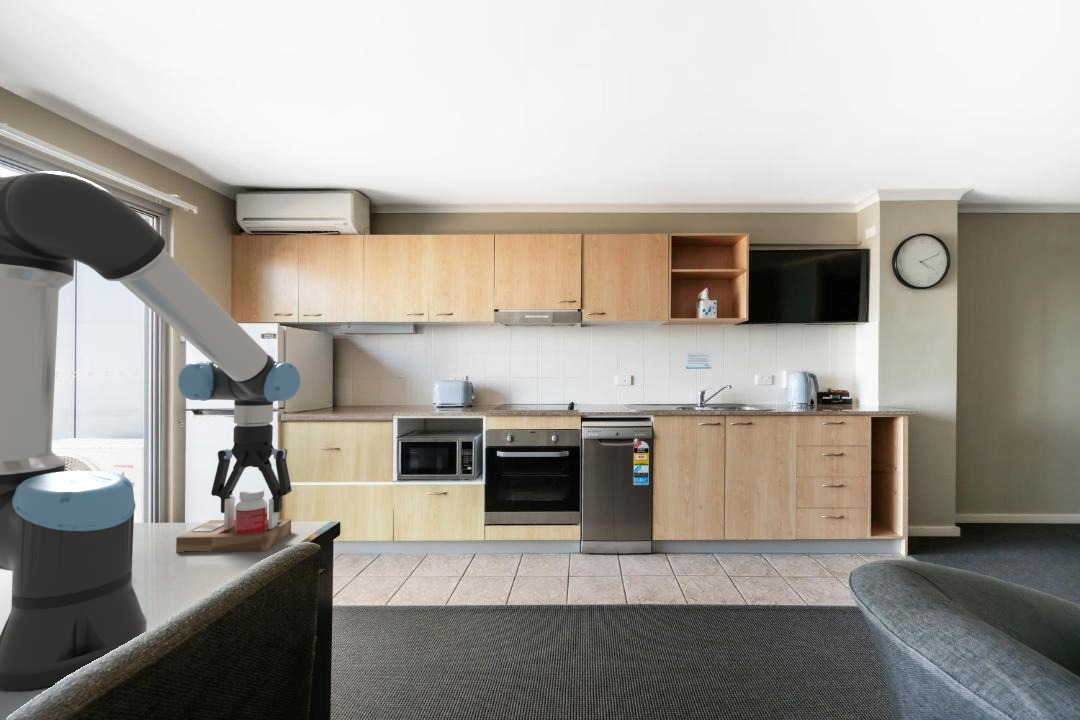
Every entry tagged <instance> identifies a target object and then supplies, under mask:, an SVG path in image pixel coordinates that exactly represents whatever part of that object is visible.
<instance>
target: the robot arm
mask: <svg viewBox="0 0 1080 720" xmlns="http://www.w3.org/2000/svg"><path fill="white" fill-rule="evenodd" d="M167 246H168V243H167V241H166V239H165V238H164V237H163V236H162V235H161V234H160V233H159V232H158V230H156V228H154V227H153V226H152V225H151V224H150V223H149V222H148V221H147V220H146V219H145V218H144V217H143V216H141V215H140V214H139V213H137V211H136V210H135V209H133V208H132V207H130V205H128V204H127V203H125V202H124V201H123V200H121V199H120V198H118V197H117V196H116V195H114V194H113V193H111V192H110V191H108V190H107V189H105V188H103V187H102V186H100V185H98V184H96V183H94V182H92V181H90V180H88V179H85V178H83V177H80V176H77V175H75V174H70V173H67V172H63V171H62V172H61V171H55V170H54V171H53V170H51V171H49V170H48V171H47V170H45V171H35V172H29V173H26V174H18V175H17V174H16V175H12V176H11V175H10V176H4V177H3V176H0V570H4V571H10V572H11V574H12V577H11V579H12V580H11V607H10V608H11V609H10V612H9V615H8V617H7V620H6V622H5V624H4V626H3V629H2V630H1V632H0V690H2V691H3V690H4V691H26V690H35V689H36V690H37V689H41V688H47V687H52V686H55V685H54V684H55V683H57V682H58V681H60V680H61V679H63V678H64V677H66V676H67V675H69V674H71V673H73V672H75V671H76V670H78V669H80V668H81V667H83V666H85V665H87V664H89V663H91V662H92V661H94V660H96V659H98V658H100V657H102V656H104V655H105V654H107V653H109V652H110V651H112V650H114V649H116V648H118V647H119V646H121V645H123V644H125V643H127V642H128V641H130V640H132V639H133V638H135V637H137V636H139V635H140V634H142V633H144V632H145V631H146V632H147V624H148V623H147V618H146V616H145V613H143V610H142V606H141V605H140V602H139V600H138V597H137V594H136V591H135V589H134V587H133V581H132V580H133V577H132V576H133V575H132V574H133V551H134V549H133V548H134V547H133V546H134V525H135V510H136V502H135V494H134V486H133V483H132V482H131V481H130V479H129V478H128V477H126V476H124V475H122V474H118V473H115V472H111V471H105V470H104V471H102V470H91V471H86V470H67V471H66V470H65V469H66V461H65V460H63V458H62V457H59V456H58V455H57V454H56V453H54V452H53V450H52V447H53V446H52V445H53V425H54V424H53V422H54V405H55V403H54V402H55V401H54V399H55V383H56V381H55V380H56V378H55V377H56V363H57V362H56V357H57V356H56V355H57V341H58V340H57V339H58V338H57V335H58V334H57V333H58V318H59V317H58V316H59V315H58V313H59V297H60V296H59V293H60V290H61V289H62V288H63V287H64V286H67V285H68V284H70V283H72V282H73V281H74V277H75V275H74V273H75V272H74V271H75V261H76V262H79V263H81V264H84V265H85V266H88V267H89V268H90V269H92V270H94V271H95V272H96V273H97V274H98V275H100V276H101V277H102V278H103V279H104V280H106V281H109V282H119V283H120V284H122V286H124V287H125V288H126V289H127V290H129V291H130V292H131V293H132V294H133V295H135V296H136V298H138V300H140V301H141V302H142V303H143V304H145V306H147V307H148V308H149V309H150V310H152V311H153V312H154V313H155V314H156V316H157V315H158V317H160V318H161V319H162V320H163V321H164V322H166V323H167V324H168V325H169V326H170V327H171V328H173V330H175V331H176V332H177V333H178V334H179V335H180V336H182V337H183V338H184V339H185V340H186V341H188V343H189V344H191V345H192V346H193V347H194V348H195V349H197V350H198V351H199V352H200V353H201V354H202V355H204V357H206V358H207V359H208V360H209V361H200V362H199V361H195V362H193V361H192V362H189V363H188V364H186V365H185V366H184V365H183V367H182V369H180V371H179V374H178V378H177V379H178V382H177V384H178V388H179V391H180V393H181V394H182V396H183V397H185V398H186V399H187V400H189V401H190V400H191V401H203V402H205V401H206V402H207V401H211V400H212V401H213V400H217V401H219V400H221V401H234V402H233V403H234V407H233V409H234V410H233V423H234V424H235V426H234V427H233V447H232V448H231V449H228V448H225V449H222V450H221V449H220V450H219V451H217V459H218V463H217V467H216V472H215V476H214V480H213V483H212V484H213V485H212V489H211V492H210V493H211V496H213V497H215V496H216V497H219V499H220V512H221V514H224V518H223V520H224V530H228V529H230V528H231V527H233V526H234V524H235V508H236V496H234V495H233V491H234V490H235V488H236V485H238V482H239V480H240V479H241V477H242V474H243V473H244V471H245V469H246V468H248V467H249V468H250V467H251V468H258V471H260V473H261V474H262V476H263V479H264V480H265V483H266V485H267V486H268V489H269V492H270V494H271V495H272V496H271V497H270V498H269V499H268V517H267V520H268V529H273V528H274V527H276V526H277V524H278V519H279V518H278V517H279V516H278V515H279V514H278V513H279V512H281V511H282V509H283V496H287V495H288V494H290V493H291V492H292V486H291V479H290V474H289V469H288V464H287V454H288V450H287V449H286V448H283V449H277V448H274V445H273V431H274V430H273V429H274V428H273V425H272V424H271V423H272V422H273V421H274V418H273V417H274V402H279V401H280V402H283V401H284V402H285V401H290V400H291V399H293V398H294V397H295V396H296V395H297V393H298V392H299V389H300V385H301V375H300V372H299V370H298V368H297V367H296V366H295V365H294V364H292V363H290V362H285V361H278V362H277V361H275V360H274V358H273V357H272V355H269V354H268V353H267V352H266V351H265V350H264V349H263V347H262V346H260V345H259V343H257V342H256V341H255V340H254V339H253V337H252V336H250V334H248V332H247V331H246V330H245V329H244V328H243V327H242V326H241V325H240V324H239V323H238V322H237V321H236V320H235V319H233V317H231V315H230V314H229V313H228V312H227V311H226V310H225V309H224V307H222V306H221V305H220V304H219V303H218V302H217V301H216V300H215V299H214V298H213V297H212V296H211V295H210V294H209V293H208V292H207V291H206V290H205V289H204V288H203V287H202V286H201V285H200V284H199V283H198V282H197V281H196V279H194V278H193V277H192V276H191V275H190V273H188V272H187V270H186V269H184V267H182V266H181V264H179V263H178V261H177V260H176V259H175V258H174V257H173V256H172V255H171V254H169V252H168V251H167ZM272 455H273V459H275V467H276V472H277V476H276V474H275V472H274V469H273V465H272V462H271V460H270V458H271V457H272ZM233 457H234V458H235V460H236V461H235V463H234V465H233V467H232V471H231V473H230V474H229V476H228V472H229V468H230V464H231V459H232V458H233ZM227 476H228V478H227Z"/></svg>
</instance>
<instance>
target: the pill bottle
mask: <svg viewBox="0 0 1080 720" xmlns="http://www.w3.org/2000/svg"><path fill="white" fill-rule="evenodd" d="M264 496H265V490H264V489H261V488H254V489H253V488H252V489H246V490H241V491H240V492H239V497H238V498H239V500H240V501H239V502H237V504H235V533H267V520H268V509H269V504H268V501H267V500H265V499H264Z"/></svg>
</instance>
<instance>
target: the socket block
mask: <svg viewBox="0 0 1080 720" xmlns="http://www.w3.org/2000/svg"><path fill="white" fill-rule="evenodd" d="M291 533H292V519H291V518H290V519H287V518H286V519H284V518H283V519H279V518H278V524H277V526H276V527H274V528H273V529H268V519H267V533H235V524H234V526H233V527H231V528H230V529H228V530H224V519H218V520H217V519H210V520H209V521H206V522H205V523H203V524H201V525H198V526H197V527H195V528H193V529H190V530H188V531H187V532H184V533H183V534H181V535H179V536H177V537H176V541H175V542H176V543H175V545H176V546H175V547H176V548H175V551H176V552H175V553H185V552H184V551H208V552H209V553H210V552H211V553H213V552H214V553H216V552H217V553H218V552H220V553H222V552H266V551H268V550H269V549H271V548H272V547H273V546H275V545H277V543H278V542H280V541H281V540H283V539H284V538H286V537H287V536H288V535H289V534H291Z"/></svg>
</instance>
